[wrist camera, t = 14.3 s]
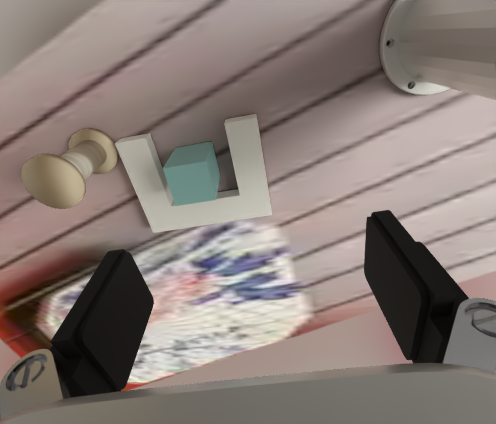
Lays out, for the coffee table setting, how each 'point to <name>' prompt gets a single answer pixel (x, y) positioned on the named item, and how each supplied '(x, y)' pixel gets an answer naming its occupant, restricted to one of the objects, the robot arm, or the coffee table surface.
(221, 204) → the notched board
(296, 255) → the coffee table surface
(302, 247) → the coffee table surface
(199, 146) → the block
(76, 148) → the bobbin
